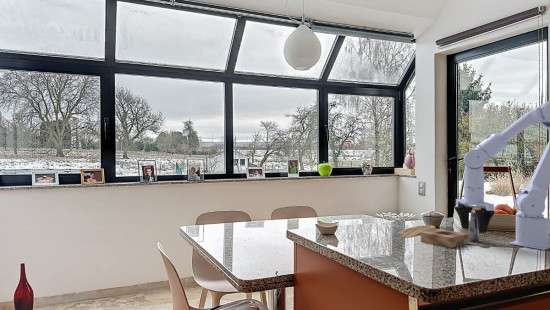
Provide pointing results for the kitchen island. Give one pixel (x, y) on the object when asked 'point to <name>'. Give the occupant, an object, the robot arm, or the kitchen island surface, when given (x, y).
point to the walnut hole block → (445, 238)
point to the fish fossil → (415, 231)
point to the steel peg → (473, 227)
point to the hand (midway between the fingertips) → (473, 230)
